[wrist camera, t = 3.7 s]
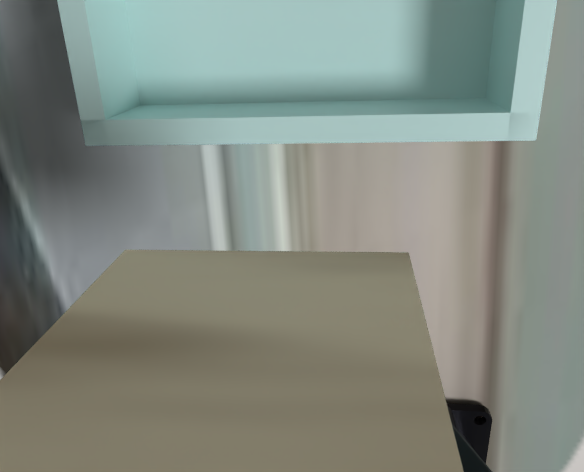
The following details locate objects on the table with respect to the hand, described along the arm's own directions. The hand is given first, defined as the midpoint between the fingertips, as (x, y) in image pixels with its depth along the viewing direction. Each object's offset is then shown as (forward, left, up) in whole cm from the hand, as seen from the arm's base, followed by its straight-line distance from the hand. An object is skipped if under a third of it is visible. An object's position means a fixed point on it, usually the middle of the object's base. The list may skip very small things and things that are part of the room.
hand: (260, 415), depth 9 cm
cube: (0, 0, -1) cm, 1 cm away
